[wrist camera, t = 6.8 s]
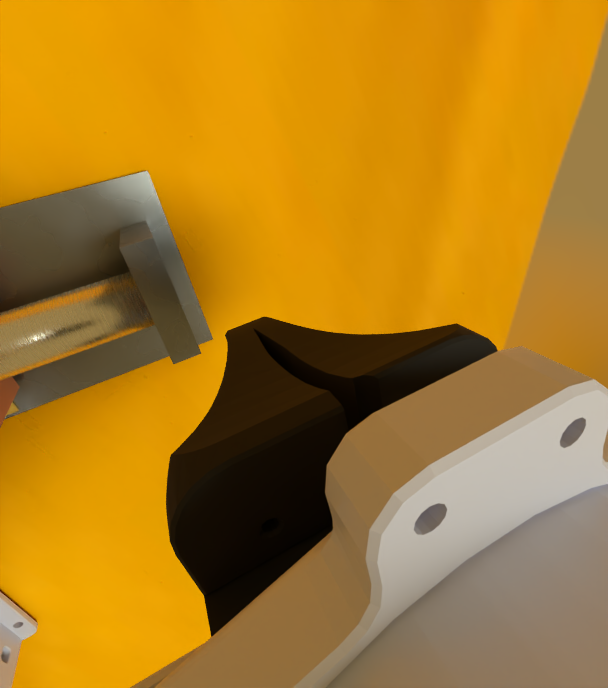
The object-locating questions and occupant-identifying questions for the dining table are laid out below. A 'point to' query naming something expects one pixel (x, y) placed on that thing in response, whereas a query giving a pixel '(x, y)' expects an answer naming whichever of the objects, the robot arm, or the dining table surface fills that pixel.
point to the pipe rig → (91, 290)
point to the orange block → (7, 396)
